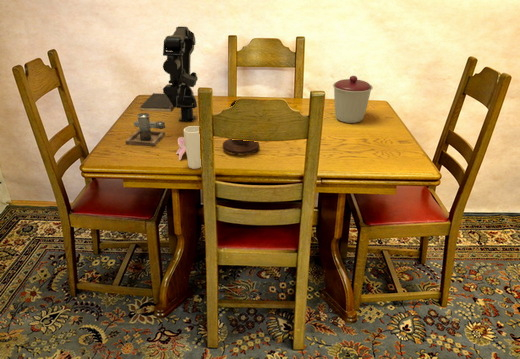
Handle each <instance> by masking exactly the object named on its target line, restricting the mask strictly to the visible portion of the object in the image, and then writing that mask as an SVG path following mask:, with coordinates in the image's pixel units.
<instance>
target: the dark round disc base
mask: <svg viewBox="0 0 520 359" xmlns="http://www.w3.org/2000/svg"><path fill="white" fill-rule="evenodd" d="M237 100H238V99H237ZM237 100H236V99H235V100H233V101H232V102H231V104H230V106H229V108H230V107H231V106H233V105H234V104H235V102H236V101H237ZM222 149H223V150H224V151H225V152H227V153H229V154H234V156H235V157H238V156H239V155H246V154H247V155H248V154H252V153H255V152H257V153H258V151H259V149H260V143H259V141H258V142H254V141H243V140H232V139H230V138H227V139H226V140H225V141H223V143H222Z"/></svg>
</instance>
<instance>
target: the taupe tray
mask: <svg viewBox="0 0 520 359" xmlns="http://www.w3.org/2000/svg"><path fill="white" fill-rule="evenodd" d="M165 136H166V132H165V131H158V130H157V131H156V130H151V138H152V139H151V140H150V141H141V140H140V132H139V129H136V131H134V132H133V133H132V134H130V136H129V137H127V138H126V140H125V141H124V142H125V145H128V146H142V147H152V148H153V147H154V148H155V147H156V146H157V145H158V143H160V141H161V140H162V139H163V138H164V137H165Z"/></svg>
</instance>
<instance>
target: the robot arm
mask: <svg viewBox="0 0 520 359" xmlns="http://www.w3.org/2000/svg"><path fill="white" fill-rule="evenodd" d="M196 41H197V40H196V37H195V34H194V32H193V31H191V30H190V29H189V28H188V27H187V26H176V28H175V31H174V32H173V34H172V35H166V36H165V39H163V48H162V56H164V57H165V56H166V59H165V61H164V62H163V65H162V68H163V71H164V72H165V73H166V74H168V75H169V80H168V84H166V85H165V86H164V87H163V88H162V90H163V91H162V92H163V93H162V94H165V95H167V97H168V98H169V100H170V101H171V103H172V105H173V106H174V107H175V108H174V109H180V118H179V119H178V121H179V122H189V123H192V122H193V121H194V120H195V119H196V118H197V116H195V115H194V109H196V108H198V104H197V99H196V97H195V95H194V91H193V90H192V88H194V87H195V86H196V85H197V81H198V79H199V78H198V75H197V73H196V72H195V71H193V72H191V56H192V54H193V52H194V50H195V46H196Z"/></svg>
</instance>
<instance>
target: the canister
mask: <svg viewBox="0 0 520 359" xmlns="http://www.w3.org/2000/svg"><path fill="white" fill-rule="evenodd" d="M332 86H333V93H334V95H333V96H334V100H333V101H334V115H335V118H336V119H337V120H338V121H340V122H342V123H347V124H348V123H349V124H355V123H356V124H357V123H359V122H361V121H362V120H364V118H365V115H366V113H367V108H368V104H369V99H370V96H371V91H372V90H373V85H372V84H371V83H369V82H368V81H365V80H361V79H358V77H357V76H356V75H351V76H350V77H349V78H346V79H340V80H338V81H336V82H334V83H333V84H332Z"/></svg>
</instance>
